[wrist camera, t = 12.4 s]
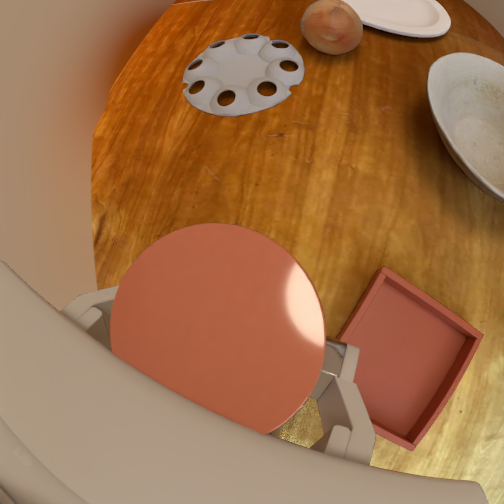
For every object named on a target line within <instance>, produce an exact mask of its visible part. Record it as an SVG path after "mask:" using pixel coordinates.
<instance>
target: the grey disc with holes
mask: <svg viewBox="0 0 504 504" xmlns="http://www.w3.org/2000/svg"><path fill="white" fill-rule="evenodd" d="M247 37H258V38H256V39H244V38H247ZM269 39H270V37H265V36H262V35H259V34H254V33H251V34H246V35H243V36H241V37H238V38H233V39H229V40H226V41H217V42H214V43H212V44H211V45H210V46H208V48H207V49H206V50H205V51H204V52H203V53H201V54H200V55H199V56H198V57H197V58H196V59H195V60H194V61H193V62H191V63H190V64H189V65H188V66H187V68H186V69H185V72H184V78H183V84H184V83H187V84H188V87H187V88H186V89H185V90H183V92H184V95H185V97H186V99H187V101H188V102H189V103H190V104H191V105H192V106H194V107H196V108H197V109H199V110H201V111H204V112H206V113H210V114H214V115H218V116H238V115H246V114H251V113H255V112H259V111H262V110H264V109H268V108H270V107H273V106H275V105H277V104H278V103H280V102H282V101H283V100H285V99H286V98H287V97H288V96H289V95H291V94H292V92H290V91H289V87H290V86H292V85H299V84H300V82H301V81H302V79H303V76H304V64H303V60H302V58H301V56H300V54H299V53H298V51H296V49H295V48H294V46H292V45H291V44H290V43H288V42H286V41H282V40H273V41H270V40H269ZM223 43H224V44H223ZM274 43H284V44H288V45H289V47H288V48H284V49H280V48H275V47H273V46H272V45H271V44H274ZM218 44H223V45H222V46H220V47H217V48H212V47H214V46H216V45H218ZM284 60H290V61H293V62H295V63H296V64H297V65H298V70H296V71H293V72H288V71H285V70H283V69H281V68H280V66H279V64H280V62H282V61H284ZM200 61H203V62H202V64H201V65H200V66H199V67H197V68H195V69H193V70H188V69H189V68H190V67H191V66H192V65H194V64H195V63H197V62H200ZM200 80H202V81H204V82H205V86H204V88H203V89H202V90H201V91H200V92H198V93H196V94H190V93H189V89H190V87H191V86H192V85H194V83H195V82H197V81H200ZM265 81H269V82H272V83H274V84H275V85H276V87H277V91H276V93H275V94H274V95H272V96H267V97H266V96H262V95H260V94H259V93H258V91H257V87H258V85H259V84H260V83H262V82H265ZM226 90H231V91H233V92H234V93H235V94H236V98H235V100H234V102H233V103H232V104H230V105H228V106H220V105H219V104H218V102H217V98H218V96H219V95H220V93H222V92H223V91H226Z"/></svg>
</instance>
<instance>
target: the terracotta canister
mask: <svg viewBox="0 0 504 504" xmlns="http://www.w3.org/2000/svg"><path fill="white" fill-rule="evenodd" d="M110 343H111V350H112V353H113V354H114V355H115V356H117V357H118V358H120V359H121V360H123V361H124V362H126V363H127V364H129V365H131V366H132V367H134V368H135V369H137V370H138V371H140V372H142V373H143V374H145V375H147V376H148V377H150V378H152V379H153V380H155V381H157V382H158V383H160V384H162V385H163V386H165V387H167V388H169V389H170V390H172V391H174V392H176V393H178V394H179V395H181V396H183V397H185V398H187V399H189V400H191V401H192V402H194V403H196V404H198V405H200V406H202V407H204V408H206V409H208V410H210V411H212V412H214V413H216V414H218V415H220V416H223V417H225V418H227V419H229V420H231V421H233V422H236V423H238V424H240V425H242V426H245V427H247V428H249V429H252V430H254V431H257V432H259V433H261V434H264V435H266V434H268V433H270V432H272V431H274V430H275V429H277V428H279V427H280V426H282V425H283V424H284V423H286V422H287V421H288V420H289V419H290V418H292V417H293V416H294V415H295V414H296V413H297V412H298V410H299V409H300V408H301V407H302V406H303V405H304V403H305V402H306V400H307V399H308V398H309V396H310V395H311V393H312V391H313V389H314V387H315V385H316V383H317V381H318V379H319V376H320V373H321V370H322V367H323V363H324V357H325V351H326V324H325V316H324V312H323V308H322V305H321V301H320V298H319V296H318V293H317V291H316V289H315V286H314V284H313V283H312V281H311V279H310V278H309V276H308V274H307V272H306V271H305V270H304V269H303V267H302V266H301V265H300V263H299V262H298V261H297V260H296V259H295V258H294V257H293V256H292V255H291V254H290V253H289V252H288V251H287V250H286V249H285V248H283V247H282V246H281V245H279V244H278V243H277V242H275V241H274V240H272V239H271V238H269V237H267V236H265V235H263V234H261V233H259V232H257V231H254V230H252V229H249V228H246V227H242V226H238V225H234V224H225V223H203V224H197V225H192V226H188V227H185V228H182V229H178V230H176V231H174V232H171V233H169V234H167V235H165V236H163V237H162V238H160V239H159V240H157V241H156V242H154V243H153V244H152V245H150V246H149V247H148V248H147V249H145V250H144V251H143V252H142V253H141V254H140V255H139V256H138V258H137V259H136V260H135V261H134V262H133V264H132V265H131V266H130V268H129V269H128V270H127V272H126V274H125V276H124V277H123V279H122V281H121V283H120V285H119V288H118V290H117V293H116V295H115V299H114V302H113V306H112V312H111V318H110Z"/></svg>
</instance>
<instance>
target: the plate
mask: <svg viewBox="0 0 504 504" xmlns="http://www.w3.org/2000/svg"><path fill="white" fill-rule="evenodd" d="M342 1H344V2H345V3H347V4H348V5H350V6H351V7H352V8H353V9H354V10H355V12H356V13H357V14H358V15H359V17H360V19H361V21H362V24H365V25H368V26H371V27H374V28H377V29H380V30H384V31H387V32H391V33H396V34H400V35H406V36H412V37H437V36H441V35H443V34H445V33H446V32H448V30H449V28H450V23H451V21H450V17H449V15H448V14H447V12H446V11H445V9H444V8H443V7H442V6H441V5H440V4H439V3H438V2H437V1H436V0H342Z"/></svg>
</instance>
